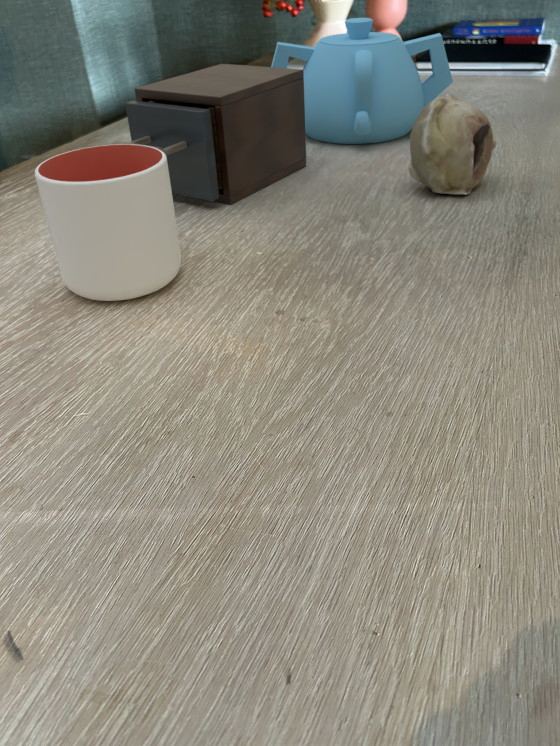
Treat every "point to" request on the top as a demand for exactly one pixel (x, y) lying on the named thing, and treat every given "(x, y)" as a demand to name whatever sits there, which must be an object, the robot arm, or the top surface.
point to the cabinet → (246, 120)
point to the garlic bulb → (450, 146)
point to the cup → (111, 220)
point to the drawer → (180, 143)
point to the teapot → (365, 83)
